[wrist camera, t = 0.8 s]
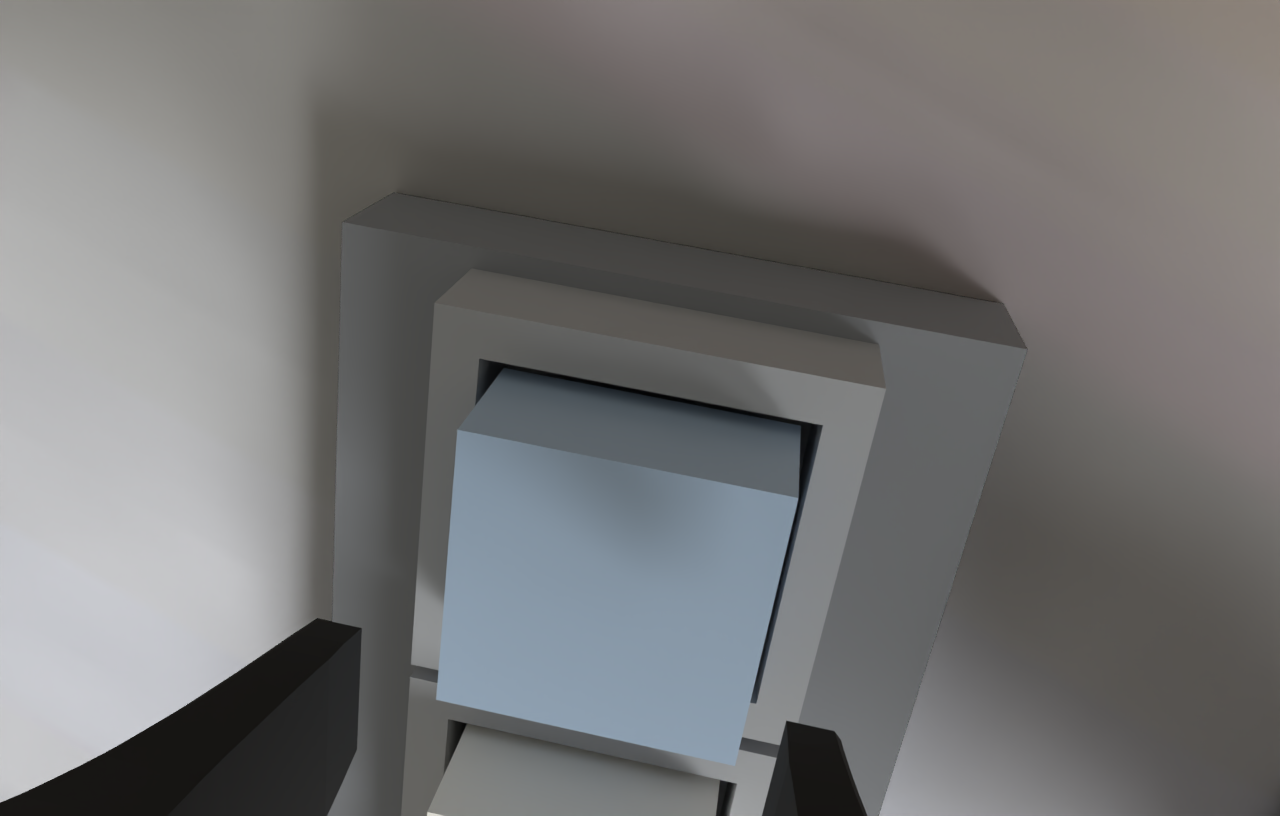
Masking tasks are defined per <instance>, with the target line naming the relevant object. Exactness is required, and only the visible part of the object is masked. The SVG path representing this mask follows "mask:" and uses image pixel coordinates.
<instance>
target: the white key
mask: <svg viewBox="0 0 1280 816" xmlns="http://www.w3.org/2000/svg"><path fill="white" fill-rule="evenodd" d="M719 784H720V780H718V779H714V778H710V777H705V776H701V775H696V774H692V773H687V772H683V771H678V770H674V769H669V768H665V767H660V766H656V765H651V764H647V763H642V762H638V761H633V760H629V759H625V758H620V757H616V756H611V755H607V754H602V753H598V752H593V751H589V750H584V749H580V748H575V747H571V746H566V745H562V744H557V743H553V742H548V741H544V740H540V739H535V738H531V737H526V736H522V735H517V734H513V733H508V732H504V731H499V730H495V729H490V728H486V727H481V726H477V725H472V724H468V723H467V725H466V727H465V730H464V732H463V734H462V736H461V738H460V741H459V743H458V745H457V747H456V750H455V752H454V754H453V756H452V758H451V761H450V763H449V765H448V767H447V769H446V772H445V774H444V776H443V778H442V781H441V783H440V785H439V787H438V789H437V792H436V794H435V796H434V798H433V801H432V803H431V805H430V807H429V809H428V812H427V816H716V810H717V802H718V793H719Z"/></svg>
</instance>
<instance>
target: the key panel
mask: <svg viewBox="0 0 1280 816" xmlns="http://www.w3.org/2000/svg"><path fill="white" fill-rule="evenodd" d="M1027 350H1028V349H1027V347H1026V345H1025V343H1024V342H1023V340H1022V338H1021V336H1020V334H1019V332H1018V330H1017V328H1016V326H1015V325H1014V323H1013V321H1012V319H1011V317H1010V315H1009V313H1008V311H1007V310H1006V308H1005V306H1004V304H1001V303H996V302H990V301H985V300H979V299H974V298H968V297H963V296H957V295H952V294H946V293H941V292H935V291H930V290H924V289H919V288H914V287H908V286H903V285H897V284H892V283H886V282H881V281H875V280H870V279H864V278H859V277H853V276H848V275H842V274H837V273H831V272H826V271H820V270H815V269H809V268H804V267H799V266H793V265H788V264H782V263H777V262H771V261H766V260H760V259H755V258H749V257H744V256H738V255H733V254H727V253H722V252H716V251H711V250H705V249H700V248H694V247H689V246H684V245H678V244H673V243H667V242H662V241H656V240H651V239H645V238H640V237H634V236H629V235H623V234H618V233H612V232H607V231H601V230H596V229H590V228H585V227H579V226H574V225H569V224H563V223H558V222H552V221H547V220H541V219H536V218H530V217H525V216H519V215H514V214H508V213H503V212H497V211H492V210H486V209H481V208H475V207H470V206H464V205H459V204H454V203H448V202H443V201H437V200H432V199H426V198H421V197H415V196H410V195H404V194H399V193H392V194H390V195H389V196H387V197H385V198H383V199H382V200H380V201H378V202H376V203H375V204H373V205H371V206H369V207H368V208H366V209H364V210H362V211H361V212H359V213H357V214H355V215H354V216H352V217H350V218H348V219H347V220H345V221H343V222H342V249H341V289H340V328H339V367H338V406H337V446H336V485H335V524H334V563H333V603H332V622H336V623H341V624H345V625H350V626H355V627H359V628H362V638H361V663H360V688H359V713H358V738H357V751H356V753H355V755H354V757H353V760H352V762H351V764H350V767H349V769H348V771H347V773H346V776H345V778H344V780H343V783H342V785H341V787H340V789H339V791H338V794H337V796H336V798H335V800H334V802H333V804H332V806H331V809H330V811H329V813H328V815H327V816H427V812H428V809H429V807H430V805H431V803H432V801H433V798H434V796H435V794H436V792H437V789H438V787H439V785H440V783H441V781H442V778H443V776H444V774H445V772H446V769H447V767H448V765H449V763H450V761H451V758H452V756H453V754H454V752H455V750H456V747H457V745H458V743H459V741H460V738H461V736H462V734H463V732H464V730H465V727H466V725H467V723H468V724H472V725H477V726H481V727H486V728H490V729H495V730H499V731H504V732H508V733H513V734H517V735H522V736H526V737H531V738H535V739H540V740H544V741H548V742H553V743H557V744H562V745H566V746H571V747H575V748H580V749H584V750H589V751H593V752H598V753H602V754H607V755H611V756H616V757H620V758H625V759H629V760H633V761H638V762H642V763H647V764H651V765H656V766H660V767H665V768H669V769H674V770H678V771H683V772H687V773H692V774H696V775H701V776H705V777H710V778H714V779H718V780H720V784H719V793H718V802H717V810H716V816H762V813H763V809H764V805H765V801H766V798H767V794H768V790H769V786H770V782H771V778H772V774H773V770H774V766H775V763H776V759H777V755H778V751H779V747H780V743H781V739H782V735H783V731H784V728H785V724H786V721H791V722H795V723H800V724H804V725H809V726H814V727H818V728H823V729H827V730H832V731H835V732H836V734H837V735H838V737H839V738H840V739H841V742H842V745H843V749H844V752H845V755H846V758H847V761H848V764H849V767H850V770H851V773H852V776H853V779H854V782H855V784H856V787H857V790H858V793H859V795H860V798H861V800H862V803H863V805H864V808H865V811H866V813H867V816H879V813H880V810H881V807H882V803H883V800H884V797H885V794H886V791H887V788H888V785H889V782H890V778H891V775H892V772H893V769H894V766H895V763H896V760H897V757H898V753H899V750H900V747H901V744H902V741H903V738H904V735H905V732H906V728H907V725H908V722H909V719H910V716H911V713H912V710H913V707H914V703H915V700H916V697H917V694H918V691H919V688H920V685H921V681H922V678H923V675H924V672H925V669H926V666H927V663H928V660H929V656H930V653H931V650H932V647H933V644H934V641H935V638H936V635H937V631H938V628H939V625H940V622H941V619H942V616H943V613H944V610H945V606H946V603H947V600H948V597H949V594H950V591H951V588H952V585H953V581H954V578H955V575H956V572H957V569H958V566H959V563H960V560H961V556H962V553H963V550H964V547H965V544H966V541H967V538H968V534H969V531H970V528H971V525H972V522H973V519H974V516H975V513H976V509H977V506H978V503H979V500H980V497H981V494H982V491H983V488H984V484H985V481H986V478H987V475H988V472H989V469H990V466H991V463H992V459H993V456H994V453H995V450H996V447H997V444H998V441H999V438H1000V434H1001V431H1002V428H1003V425H1004V422H1005V419H1006V416H1007V413H1008V409H1009V406H1010V403H1011V400H1012V397H1013V394H1014V391H1015V387H1016V384H1017V381H1018V378H1019V375H1020V372H1021V369H1022V366H1023V362H1024V359H1025V356H1026V353H1027ZM503 368H507V369H512V370H517V371H523V372H528V373H533V374H538V375H543V376H548V377H553V378H558V379H564V380H569V381H574V382H579V383H584V384H589V385H594V386H600V387H605V388H610V389H615V390H620V391H625V392H630V393H635V394H641V395H646V396H651V397H656V398H661V399H666V400H671V401H677V402H682V403H687V404H692V405H697V406H702V407H707V408H712V409H718V410H723V411H728V412H733V413H738V414H743V415H748V416H754V417H759V418H764V419H769V420H774V421H779V422H784V423H789V424H795V425H800V426H801V436H800V467H799V498H798V502H797V507H796V511H795V515H794V519H793V523H792V528H791V532H790V536H789V540H788V545H787V549H786V553H785V557H784V561H783V566H782V570H781V574H780V578H779V583H778V587H777V591H776V595H775V599H774V604H773V608H772V612H771V616H770V621H769V625H768V629H767V633H766V637H765V642H764V646H763V650H762V654H761V659H760V663H759V667H758V671H757V675H756V680H755V684H754V688H753V692H752V697H751V701H750V705H749V709H748V713H747V718H746V722H745V726H744V730H743V735H742V739H741V743H740V747H739V751H738V756H737V760H736V764H735V766H732V765H728V764H723V763H719V762H714V761H710V760H705V759H701V758H696V757H692V756H687V755H683V754H678V753H674V752H669V751H665V750H660V749H656V748H651V747H647V746H642V745H638V744H633V743H629V742H624V741H620V740H615V739H611V738H606V737H602V736H597V735H593V734H588V733H584V732H579V731H575V730H570V729H566V728H561V727H557V726H552V725H548V724H543V723H539V722H534V721H530V720H525V719H521V718H516V717H512V716H507V715H503V714H498V713H494V712H489V711H485V710H480V709H476V708H471V707H467V706H462V705H458V704H453V703H449V702H444V701H440V700H436V696H437V683H438V671H439V658H440V645H441V633H442V620H443V607H444V594H445V582H446V569H447V556H448V544H449V531H450V518H451V506H452V493H453V480H454V468H455V455H456V442H457V430H458V428H459V427H460V426H461V424H462V423H463V422H464V420H465V419H466V418H467V416H468V415H469V414H470V412H471V411H472V410H473V408H474V407H475V406H476V404H477V403H478V402H479V400H480V399H481V398H482V396H483V395H484V394H485V392H486V391H487V390H488V388H489V387H490V386H491V384H492V383H493V382H494V380H495V379H496V378H497V376H498V375H499V374H500V372H501V371H502V370H503Z"/></svg>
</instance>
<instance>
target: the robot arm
mask: <svg viewBox="0 0 1280 816" xmlns="http://www.w3.org/2000/svg"><path fill="white" fill-rule="evenodd" d="M361 638H362V628H359V627H355V626H350V625H345V624H341V623H336V622H332V621H327V620H322V619H318V618H317V619H316V620H314V621H313V622H311V623H309V624H308V625H306V626H305V627H303V628H302V629H300V630H299V631H297V632H296V633H294V634H293V635H291V636H290V637H288V638H287V639H285V640H284V641H282V642H281V643H279V644H278V645H276V646H275V647H273V648H272V649H271V650H269V651H268V652H266V653H265V654H263V655H262V656H260V657H259V658H257V659H256V660H254V661H253V662H251V663H250V664H248V665H247V666H245V667H244V668H243V669H241V670H240V671H238V672H237V673H235V674H234V675H232V676H231V677H229V678H228V679H226V680H224V681H223V682H221V683H220V684H218V685H217V686H215V687H214V688H212V689H211V690H209V691H207V692H206V693H204V694H203V695H201V696H200V697H198V698H197V699H195V700H193V701H192V702H190V703H189V704H187V705H186V706H184V707H183V708H181V709H179V710H178V711H176V712H175V713H173V714H171V715H170V716H168V717H166V718H164V719H163V720H161V721H159V722H158V723H156V724H154V725H153V726H151V727H149V728H147V729H146V730H144V731H142V732H141V733H139V734H137V735H135V736H134V737H132V738H130V739H129V740H127V741H125V742H124V743H122V744H120V745H118V746H117V747H115V748H113V749H111V750H109V751H107V752H106V753H104V754H102V755H100V756H98V757H96V758H94V759H92V760H90V761H88V762H86V763H85V764H83V765H81V766H79V767H77V768H75V769H73V770H70V771H68V772H66V773H64V774H62V775H60V776H58V777H56V778H54V779H52V780H50V781H48V782H46V783H44V784H42V785H40V786H37V787H35V788H33V789H31V790H29V791H27V792H24V793H22V794H20V795H18V796H15V797H13V798H10V799H8V800H6V801H3V802H1V803H0V816H327V815H328V813H329V811H330V809H331V806H332V804H333V802H334V800H335V798H336V796H337V794H338V791H339V789H340V787H341V785H342V783H343V780H344V778H345V776H346V773H347V771H348V769H349V767H350V764H351V762H352V760H353V757H354V755H355V753H356V751H357V738H358V713H359V688H360V663H361ZM762 816H867V813H866V811H865V808H864V805H863V803H862V800H861V798H860V795H859V793H858V790H857V787H856V784H855V782H854V779H853V776H852V773H851V770H850V767H849V764H848V761H847V758H846V755H845V752H844V749H843V745H842V742H841V739H840V738H839V737H838V735H837V734H836V732H835V731H832V730H827V729H823V728H818V727H814V726H809V725H804V724H800V723H795V722H791V721H786V724H785V728H784V731H783V735H782V739H781V743H780V747H779V751H778V755H777V759H776V763H775V766H774V770H773V774H772V778H771V782H770V786H769V790H768V794H767V798H766V801H765V805H764V809H763V813H762Z"/></svg>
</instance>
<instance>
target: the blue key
mask: <svg viewBox="0 0 1280 816" xmlns="http://www.w3.org/2000/svg"><path fill="white" fill-rule="evenodd" d="M800 436H801V426H800V425H795V424H789V423H784V422H779V421H774V420H769V419H764V418H759V417H754V416H748V415H743V414H738V413H733V412H728V411H723V410H718V409H712V408H707V407H702V406H697V405H692V404H687V403H682V402H677V401H671V400H666V399H661V398H656V397H651V396H646V395H641V394H635V393H630V392H625V391H620V390H615V389H610V388H605V387H600V386H594V385H589V384H584V383H579V382H574V381H569V380H564V379H558V378H553V377H548V376H543V375H538V374H533V373H528V372H523V371H517V370H512V369H507V368H503V370H502V371H501V372H500V374H499V375H498V376H497V378H496V379H495V380H494V382H493V383H492V384H491V386H490V387H489V388H488V390H487V391H486V392H485V394H484V395H483V396H482V398H481V399H480V400H479V402H478V403H477V404H476V406H475V407H474V408H473V410H472V411H471V412H470V414H469V415H468V416H467V418H466V419H465V420H464V422H463V423H462V424H461V426H460V427H459V428H458V430H457V442H456V455H455V468H454V480H453V493H452V506H451V518H450V531H449V544H448V556H447V569H446V582H445V594H444V607H443V620H442V633H441V645H440V658H439V671H438V683H437V696H436V700H440V701H444V702H449V703H453V704H458V705H462V706H467V707H471V708H476V709H480V710H485V711H489V712H494V713H498V714H503V715H507V716H512V717H516V718H521V719H525V720H530V721H534V722H539V723H543V724H548V725H552V726H557V727H561V728H566V729H570V730H575V731H579V732H584V733H588V734H593V735H597V736H602V737H606V738H611V739H615V740H620V741H624V742H629V743H633V744H638V745H642V746H647V747H651V748H656V749H660V750H665V751H669V752H674V753H678V754H683V755H687V756H692V757H696V758H701V759H705V760H710V761H714V762H719V763H723V764H728V765H732V766H735V764H736V760H737V756H738V751H739V747H740V743H741V739H742V735H743V730H744V726H745V722H746V718H747V713H748V709H749V705H750V701H751V697H752V692H753V688H754V684H755V680H756V675H757V671H758V667H759V663H760V659H761V654H762V650H763V646H764V642H765V637H766V633H767V629H768V625H769V621H770V616H771V612H772V608H773V604H774V599H775V595H776V591H777V587H778V583H779V578H780V574H781V570H782V566H783V561H784V557H785V553H786V549H787V545H788V540H789V536H790V532H791V528H792V523H793V519H794V515H795V511H796V507H797V502H798V498H799V467H800Z"/></svg>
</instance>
